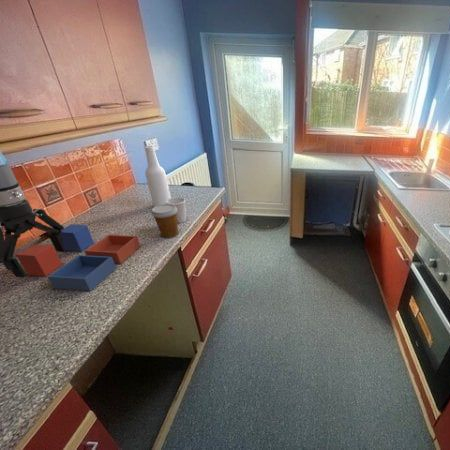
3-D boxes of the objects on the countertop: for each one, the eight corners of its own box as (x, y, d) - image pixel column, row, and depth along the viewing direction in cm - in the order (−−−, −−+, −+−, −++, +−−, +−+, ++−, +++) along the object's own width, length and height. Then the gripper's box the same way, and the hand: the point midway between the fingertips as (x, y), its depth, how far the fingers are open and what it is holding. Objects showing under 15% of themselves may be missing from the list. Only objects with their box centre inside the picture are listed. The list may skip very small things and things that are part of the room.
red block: (27, 275, 80) (15, 254, 76) (45, 263, 85) (34, 244, 81) (46, 276, 80) (34, 255, 76) (62, 264, 85) (52, 245, 81)
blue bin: (54, 288, 75) (47, 276, 73) (84, 265, 85) (78, 254, 83) (90, 290, 75) (84, 279, 73) (116, 267, 85) (111, 256, 82)
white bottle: (152, 204, 132) (137, 145, 118) (170, 201, 136) (158, 144, 122) (154, 210, 125) (139, 149, 111) (173, 206, 130) (161, 147, 116)
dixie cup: (193, 218, 119) (189, 199, 114) (178, 225, 112) (173, 205, 107) (180, 214, 122) (176, 195, 117) (165, 221, 115) (160, 201, 110)
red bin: (89, 261, 87) (84, 250, 85) (112, 244, 97) (108, 234, 95) (120, 263, 87) (116, 252, 84) (140, 246, 97) (137, 236, 94)
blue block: (65, 250, 92) (56, 232, 88) (79, 242, 97) (71, 224, 94) (81, 251, 92) (73, 233, 88) (94, 243, 97) (86, 225, 93)
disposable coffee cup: (154, 232, 106) (147, 207, 100) (177, 226, 112) (172, 201, 106) (161, 242, 100) (154, 215, 94) (185, 234, 105) (180, 209, 100)
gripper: (-33, 223, 60) (13, 290, 70) (60, 188, 82) (85, 242, 92) (-63, 222, 60) (-13, 288, 70) (38, 187, 82) (65, 242, 92)
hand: (43, 262), depth 81 cm, fingers open, 13 cm apart
